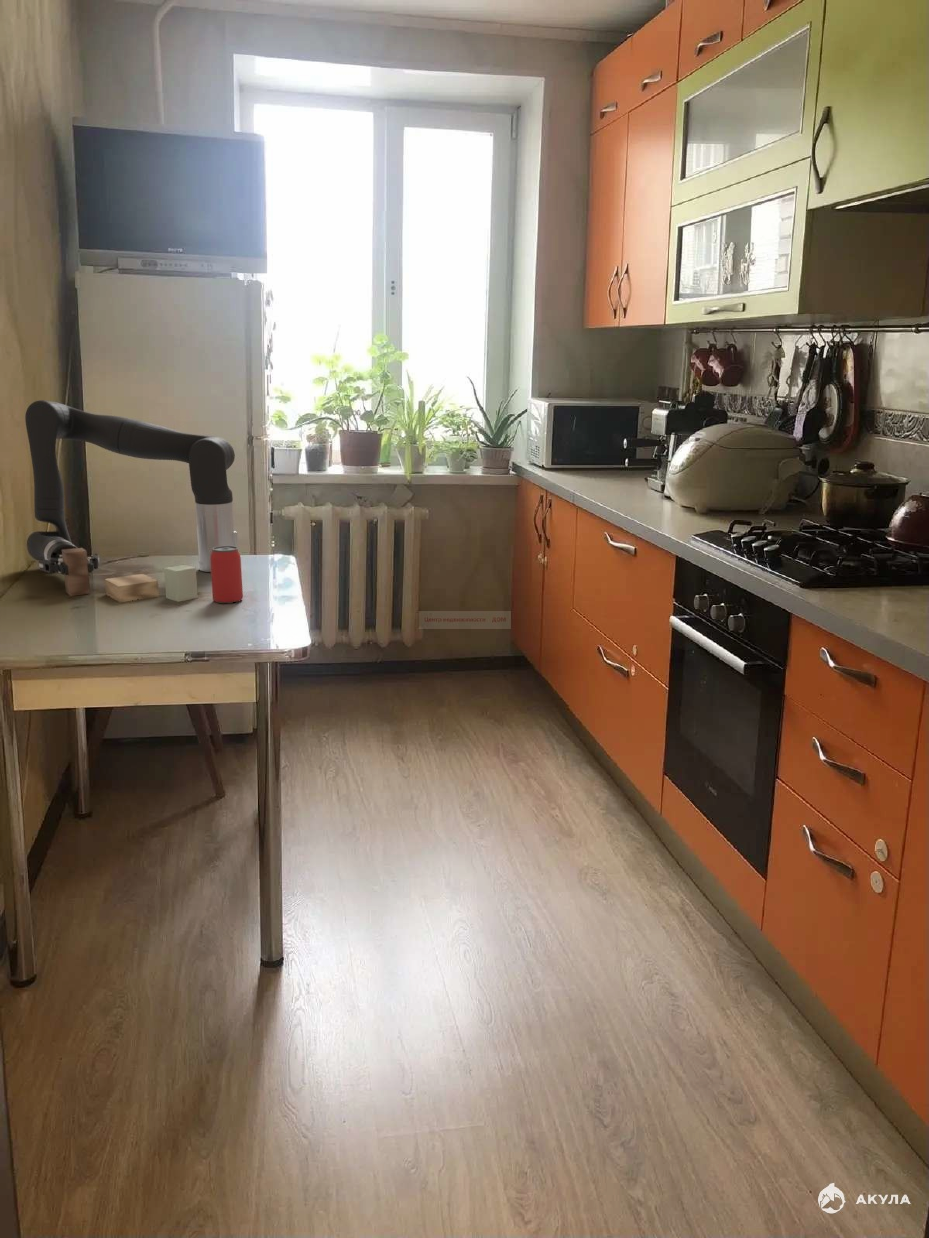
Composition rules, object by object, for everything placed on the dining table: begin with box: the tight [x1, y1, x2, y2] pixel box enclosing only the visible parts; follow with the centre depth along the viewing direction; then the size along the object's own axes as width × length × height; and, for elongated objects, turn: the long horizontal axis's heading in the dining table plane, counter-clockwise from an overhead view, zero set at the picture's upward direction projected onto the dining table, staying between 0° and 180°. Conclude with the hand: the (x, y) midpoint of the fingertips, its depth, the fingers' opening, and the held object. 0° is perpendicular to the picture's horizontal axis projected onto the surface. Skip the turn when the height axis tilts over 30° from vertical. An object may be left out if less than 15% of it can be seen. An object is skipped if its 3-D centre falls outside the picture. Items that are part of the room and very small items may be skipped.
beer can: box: [210, 546, 244, 604], centre depth 224 cm, size 7×7×12 cm
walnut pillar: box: [62, 547, 91, 597], centre depth 231 cm, size 4×4×10 cm
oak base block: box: [104, 573, 160, 603], centre depth 229 cm, size 9×9×4 cm
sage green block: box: [163, 564, 198, 603], centre depth 227 cm, size 5×5×7 cm
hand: (78, 569), depth 228 cm, fingers closed on walnut pillar, 4 cm apart
